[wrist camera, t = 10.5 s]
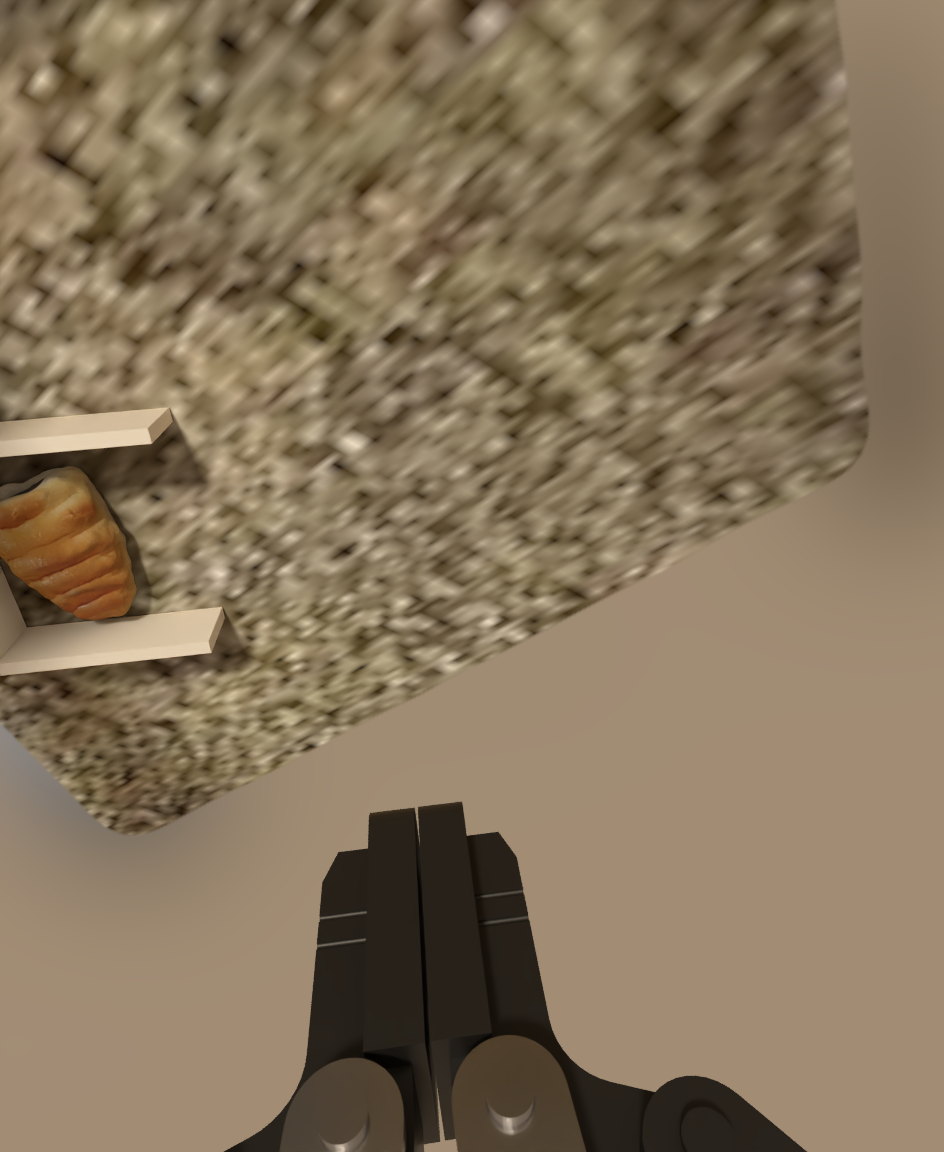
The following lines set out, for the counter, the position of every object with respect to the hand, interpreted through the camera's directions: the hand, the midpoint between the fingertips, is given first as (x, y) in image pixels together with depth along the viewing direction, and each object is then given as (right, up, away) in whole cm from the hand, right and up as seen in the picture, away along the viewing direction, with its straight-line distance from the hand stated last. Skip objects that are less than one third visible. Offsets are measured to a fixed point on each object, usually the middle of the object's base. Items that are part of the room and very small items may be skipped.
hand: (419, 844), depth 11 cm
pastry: (-23, +7, +30) cm, 39 cm away
